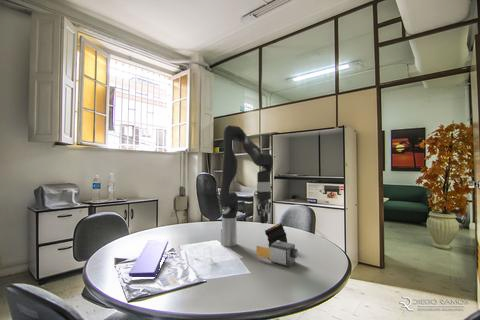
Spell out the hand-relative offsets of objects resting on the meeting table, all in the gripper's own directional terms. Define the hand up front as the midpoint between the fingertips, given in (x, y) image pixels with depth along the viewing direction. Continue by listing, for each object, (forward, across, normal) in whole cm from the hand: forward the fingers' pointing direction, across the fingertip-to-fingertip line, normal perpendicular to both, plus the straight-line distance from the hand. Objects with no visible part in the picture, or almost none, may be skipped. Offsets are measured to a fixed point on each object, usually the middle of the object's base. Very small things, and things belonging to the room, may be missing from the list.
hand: (264, 222), depth 125 cm
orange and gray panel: (+19, +4, +6) cm, 20 cm away
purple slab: (+20, +38, -44) cm, 61 cm away
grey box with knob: (+19, -1, +11) cm, 22 cm away
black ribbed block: (+19, -17, 0) cm, 26 cm away
